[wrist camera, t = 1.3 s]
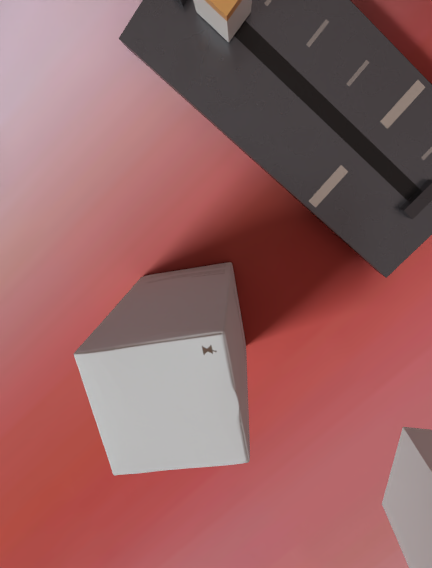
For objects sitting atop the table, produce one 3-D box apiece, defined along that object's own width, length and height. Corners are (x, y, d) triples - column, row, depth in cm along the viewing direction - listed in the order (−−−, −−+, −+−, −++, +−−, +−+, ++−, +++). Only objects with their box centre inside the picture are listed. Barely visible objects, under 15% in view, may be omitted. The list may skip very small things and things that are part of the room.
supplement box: (138, 274, 34) (66, 349, 20) (232, 259, 33) (227, 328, 19) (159, 359, 37) (108, 480, 23) (247, 348, 36) (252, 467, 22)
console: (126, 47, 29) (114, 33, 26) (225, -108, 25) (223, -143, 23) (377, 271, 33) (390, 281, 30) (489, 162, 30) (516, 162, 27)
